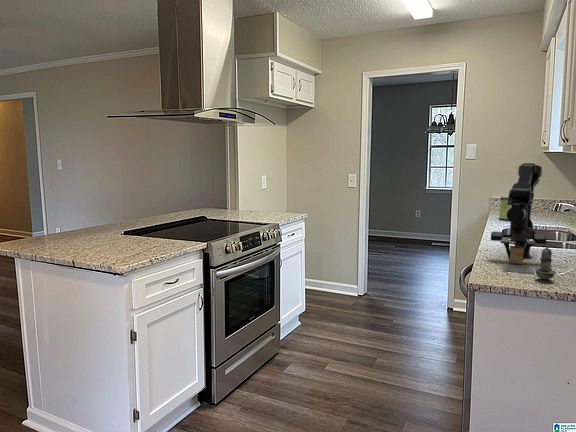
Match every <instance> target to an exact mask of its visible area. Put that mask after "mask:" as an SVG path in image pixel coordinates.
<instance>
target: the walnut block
mask: <svg viewBox="0 0 576 432" xmlns="http://www.w3.org/2000/svg"><path fill="white" fill-rule="evenodd" d="M509 248H510V259H509V258H508V261H509V264H520V265H523V264H524V260H523V256H524V247H523V246H515V245H509Z"/></svg>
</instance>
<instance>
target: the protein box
mask: <svg viewBox="0 0 576 432" xmlns="http://www.w3.org/2000/svg"><path fill="white" fill-rule="evenodd" d="M508 197H509V196H503V197H502V196H500V200H499V201H500V202H499V204H500V205H499V218H498V220H499V221H503V222H511V221H510V220H509V219H508V218H507V212H508V210H509V209H510V208H511V207H512V205H507V202H508ZM511 200H512V199H511ZM510 203H511V201H510Z"/></svg>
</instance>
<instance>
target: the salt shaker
mask: <svg viewBox="0 0 576 432" xmlns="http://www.w3.org/2000/svg"><path fill="white" fill-rule="evenodd" d="M552 253H553V251H552V250H551V249H549V245H547V246H545V248H543V249H542V250H541V258H539V260H540V264H539V265H540V266H539V267H538V268H536V269H534V272H535V275H536V276H537V277H538V278H536V279H535V282H537V283H540V284H546V285H547V284H548V285H551V284H554V283H555V281H553V280H551V279H553V278H554V276H555V274H556V271H555V270H553V268H552V262H553V259H552V255H553V254H552Z"/></svg>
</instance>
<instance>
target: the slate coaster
mask: <svg viewBox="0 0 576 432" xmlns="http://www.w3.org/2000/svg"><path fill="white" fill-rule="evenodd" d="M501 268H502V271H503V272H504V271H507V272H508V273H515V272H517V274H527V275H536V272H535V269H533V267H532V266H522V265H513V264H501ZM507 272H506V273H507Z"/></svg>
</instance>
